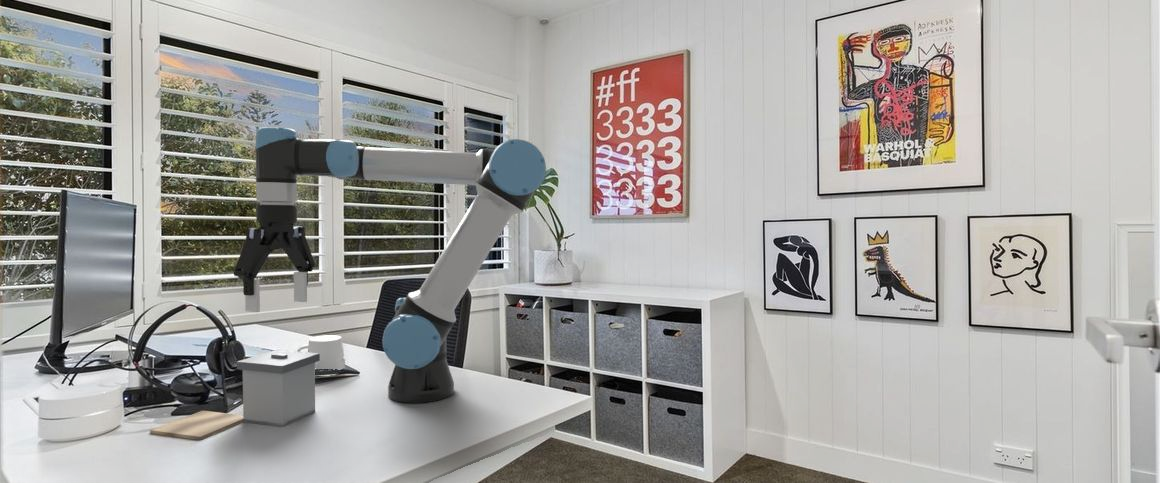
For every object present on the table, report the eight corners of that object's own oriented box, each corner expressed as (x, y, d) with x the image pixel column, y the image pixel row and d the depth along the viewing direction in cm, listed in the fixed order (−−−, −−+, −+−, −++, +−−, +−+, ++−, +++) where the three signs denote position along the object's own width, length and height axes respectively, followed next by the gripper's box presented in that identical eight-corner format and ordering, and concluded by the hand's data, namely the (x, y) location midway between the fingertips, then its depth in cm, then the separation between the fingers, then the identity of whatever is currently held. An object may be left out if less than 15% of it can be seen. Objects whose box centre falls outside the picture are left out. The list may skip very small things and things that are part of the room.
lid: (319, 364, 133) (319, 350, 133) (282, 377, 122) (282, 362, 122) (276, 360, 136) (276, 346, 136) (237, 373, 125) (236, 358, 125)
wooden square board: (249, 418, 128) (249, 416, 128) (200, 439, 116) (200, 436, 116) (202, 413, 131) (202, 410, 131) (150, 433, 120) (150, 430, 119)
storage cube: (315, 411, 133) (314, 361, 132) (283, 426, 124) (282, 372, 123) (277, 407, 135) (277, 357, 135) (243, 421, 126) (242, 368, 126)
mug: (344, 334, 168) (344, 340, 161) (345, 367, 169) (345, 375, 162) (296, 336, 164) (294, 343, 157) (297, 371, 165) (294, 379, 157)
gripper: (303, 204, 140) (303, 297, 141) (211, 203, 116) (213, 315, 117) (331, 204, 138) (332, 298, 139) (244, 203, 114) (245, 317, 115)
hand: (277, 306), depth 128 cm, fingers open, 13 cm apart
